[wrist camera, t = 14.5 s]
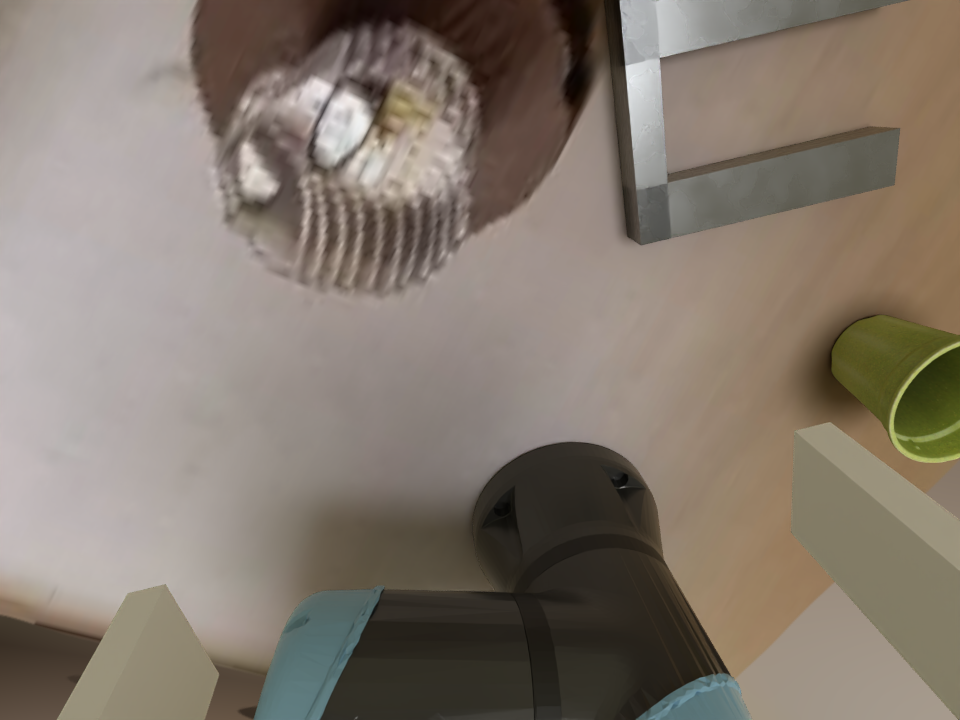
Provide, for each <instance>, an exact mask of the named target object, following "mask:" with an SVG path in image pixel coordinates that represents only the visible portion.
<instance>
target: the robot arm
mask: <svg viewBox="0 0 960 720" xmlns="http://www.w3.org/2000/svg"><path fill="white" fill-rule="evenodd" d="M472 529H473V538H474V544H475V550H476V555H477V559H478V562H479V564H480V566H481V569H482V571H483V573H484V574H485V576H486V577H487V579H488V580H489V582H490V583H491V585H492V586H493V588H494V589H495V591H496V592H475V591H427V590H384V588H385V586H379V585H378V586H376V587H375V588H374V589H361V590H328V591H321V592H318V593H315V594H312V595H310V596H309V597H307V598H306V599H304V600H303V601H302V602H301V603H300V604H299V605H298V606H297V607H296V609H295V610H294V611H293V613H292V614H291V616H290V618H289V619H288V621H287V623H286V625H285V628H284V630H283V632H282V635H281V637H280V640H279V642H278V645H277V647H276V650H275V653H274V656H273V659H272V662H271V664H270V667H269V670H268V673H267V677H266V680H265V683H264V686H263V690H262V693H261V696H260V699H259V702H258V706H257V709H256V713H255V716H254V720H752V718H751V716H750V713H749V711H748V709H747V707H746V705H745V703H744V701H743V699H742V695H741V690H740V687H739V685H738V683H737V682H736V681H735V680H734V677H731V675H730V673H729V671H728V670H727V668H726V666H725V665H724V663H723V661H722V659H721V658H720V656H719V654H718V653H717V651H716V649H715V647H714V646H713V644H712V642H711V641H710V639H709V637H708V635H707V634H706V632H705V630H704V628H703V627H702V625H701V623H700V622H699V620H698V618H697V616H696V615H695V613H694V611H693V610H692V608H691V606H690V604H689V603H688V601H687V599H686V598H685V596H684V594H683V592H682V591H681V589H680V587H679V586H678V584H677V582H676V580H675V579H674V577H673V575H672V573H671V572H670V570H669V568H668V566H667V565H666V563H665V561H664V558H663V550H662V542H661V534H660V526H659V518H658V511H657V507H656V503H655V500H654V498H653V495H652V493H651V491H650V489H649V488H648V486H647V484H646V483H645V481H644V480H643V478H642V476H641V475H640V473H639V472H638V470H637V469H636V468H635V467H634V466H633V465H632V464H631V463H630V462H629V461H628V460H627V459H625V458H624V457H623V456H621V455H619V454H618V453H616V452H614V451H612V450H609V449H607V448H604V447H601V446H597V445H592V444H585V443H563V444H556V445H551V446H546V447H543V448H540V449H537V450H534V451H531V452H529V453H527V454H525V455H523V456H521V457H519V458H517V459H516V460H514V461H512V462H511V463H509V464H508V465H507V466H505V467H504V468H503V469H502V470H501V471H499V472H498V473H497V474H496V475H495V476H494V477H493V479H492V480H491V481H490V482H489V483H488V485H487V486H486V487H485V489H484V490H483V492H482V494H481V496H480V497H479V500H478V502H477V504H476V507H475V511H474V515H473V524H472ZM791 533H792V534H793V535H794V536H795V538H796V539H797V540H798V541H799V542H800V543H801V544H802V545H803V547H804V548H805V549H806V550H807V551H808V552H809V553H810V554H811V556H812V557H813V558H814V559H815V560H816V561H817V562H818V563H819V564H820V566H821V567H822V568H823V569H824V570H825V571H826V572H827V573H828V575H829V576H830V577H831V578H832V579H833V580H834V581H835V582H836V583H837V585H838V586H839V587H840V588H841V589H842V590H843V591H844V592H845V593H846V595H847V596H848V597H849V598H850V599H851V600H852V601H853V602H854V604H855V605H856V606H857V607H858V608H859V609H860V610H861V611H862V613H863V614H864V615H865V616H866V617H867V618H868V619H869V620H870V622H872V624H873V625H874V626H875V627H876V628H877V629H878V630H879V632H880V633H881V634H882V635H883V636H884V637H885V638H886V639H887V641H888V642H889V643H890V644H891V645H892V646H893V647H894V648H895V649H896V651H897V652H898V653H899V654H900V655H901V656H902V657H903V658H904V660H905V661H906V662H907V663H908V664H909V665H910V666H911V667H912V668H913V670H914V671H915V672H916V673H917V674H918V675H919V676H920V677H921V678H922V680H923V681H924V682H925V683H926V684H927V685H928V686H929V687H930V688H931V690H932V691H933V692H934V693H935V694H936V695H937V696H938V698H939V699H940V700H941V701H942V702H943V703H944V704H945V705H946V707H947V708H948V709H949V710H950V711H951V712H952V713H953V714H954V715H955V716H956V718H957V719H958V720H960V520H959V519H957V518H956V517H955V516H954V515H952V514H951V513H950V512H948V511H947V510H946V509H944V508H943V507H942V506H941V505H939V504H938V503H937V502H935V501H934V500H933V499H931V498H930V497H928V496H927V495H926V494H925V493H923V492H922V491H921V490H919V489H918V488H917V487H915V486H914V485H913V484H911V483H910V482H909V481H907V480H906V479H905V478H903V477H902V476H901V475H900V474H898V473H897V472H896V471H894V470H893V469H892V468H890V467H889V466H888V465H886V464H885V463H884V462H882V461H881V460H880V459H878V458H877V457H876V456H874V455H873V454H872V453H870V452H869V451H868V450H866V449H865V448H864V447H862V446H861V445H860V444H859V443H857V442H856V441H855V440H853V439H852V438H851V437H849V436H848V435H847V434H845V433H844V432H843V431H841V430H840V429H839V428H837V427H836V426H835V425H833V424H832V423H831V422H828V423H824V424H820V425H816V426H812V427H808V428H804V429H800V430H796V431H794V457H793V486H792V515H791ZM218 677H219V673H218V671H217V670H216V668H215V666H214V665H213V663H212V661H211V660H210V658H209V656H208V655H207V653H206V651H205V650H204V648H203V646H202V645H201V643H200V641H199V640H198V638H197V636H196V635H195V633H194V631H193V630H192V628H191V626H190V624H189V623H188V621H187V619H186V618H185V616H184V614H183V613H182V611H181V609H180V608H179V606H178V604H177V603H176V601H175V599H174V598H173V596H172V594H171V593H170V591H169V589H168V588H167V586H166V584H165V585H161V586H157V587H153V588H149V589H144V590H140V591H136V592H132V593H128V594H127V596H126V598H125V599H124V601H123V603H122V605H121V607H120V608H119V610H118V612H117V614H116V615H115V617H114V619H113V621H112V623H111V624H110V626H109V628H108V630H107V631H106V633H105V635H104V637H103V639H102V640H101V642H100V644H99V646H98V648H97V649H96V651H95V653H94V655H93V657H92V658H91V660H90V662H89V664H88V665H87V667H86V669H85V671H84V672H83V674H82V676H81V678H80V680H79V681H78V683H77V685H76V687H75V688H74V690H73V692H72V694H71V696H70V697H69V699H68V701H67V703H66V705H65V706H64V708H63V710H62V712H61V713H60V715H59V717H58V719H57V720H205V717H206V714H207V711H208V707H209V705H210V702H211V698H212V695H213V692H214V689H215V686H216V683H217V680H218Z"/></svg>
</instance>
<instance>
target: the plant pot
mask: <svg viewBox="0 0 960 720" xmlns="http://www.w3.org/2000/svg"><path fill="white" fill-rule="evenodd" d="M831 355H832V368H831V371H832V373H833V375H834V377H835V378H836V379H837V380H838V381H839V382H840V383H841V384H842V385H843V386H844V387H845V388H846V389H847V390H848V391H850V392H851V393H852V394H853V395H854V396H855V397H856V398H857V399H858V400H859V401H860V402H861V403H862V404H864V405H865V406H866V407H867V408H868V409H869V410H870V411H871V412H872V413H873V414H874V415H875V416H876V417H877V418H878V419H879V420H880V421H881V422H882V425H883V426H884V428H885V429H886V431H887V432H888V436H889V438H890V440H891V442H892V444H893V445H894V447H895V448H896V449H897V450H898V451H899V452H900V453H902V454H903V455H905V456H906V457H908V458H910V459H913V460H915V461H919V462H926V463H936V462H945V461H949V460H954V459H958V458H960V335H956V334H952V333H948V332H945V331H941V330H937V329H934V328H930V327H926V326H923V325H919V324H915V323H912V322H908V321H905V320H901V319H898V318H894V317H890V316H887V315H877V316H875V317H871V318H867V319H863V320H859V321H857V322H856V323H854V324H852V325H851V326H850V327H849V328H847V329H846V330H845V331H844V332H843V333H842V335H841V336H840V337H839V338H838V340H837V341H836V343H835V345H834V347H833V350H832V353H831Z"/></svg>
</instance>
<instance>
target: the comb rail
mask: <svg viewBox="0 0 960 720" xmlns="http://www.w3.org/2000/svg"><path fill="white" fill-rule="evenodd" d="M904 1H908V0H605V10H606V20H607V31H608V41H609V51H610V61H611V72H612V82H613V92H614V103H615V113H616V123H617V133H618V144H619V154H620V164H621V174H622V185H623V195H624V205H625V215H626V226H627V236H628V237H629V238H630V239H632V240H634V241H635V242H637V243H638V244H640V245H644V244H648V243H653V242H657V241H661V240H665V239H669V238H674V237H678V236H682V235H686V234H691V233H695V232H699V231H703V230H707V229H712V228H716V227H720V226H724V225H728V224H733V223H737V222H741V221H745V220H749V219H754V218H758V217H762V216H766V215H771V214H775V213H779V212H783V211H787V210H792V209H796V208H800V207H804V206H808V205H813V204H817V203H821V202H825V201H830V200H834V199H838V198H842V197H846V196H851V195H855V194H859V193H863V192H867V191H872V190H876V189H880V188H884V187H888V186H893V185H895V175H896V165H897V155H898V145H899V135H900V128H887V127H867V128H863V129H858V130H854V131H850V132H846V133H841V134H837V135H833V136H829V137H824V138H820V139H816V140H812V141H807V142H803V143H799V144H795V145H790V146H786V147H782V148H778V149H773V150H769V151H765V152H760V153H756V154H752V155H748V156H743V157H739V158H735V159H731V160H726V161H722V162H718V163H714V164H709V165H705V166H701V167H697V168H692V169H688V170H684V171H680V172H675V173H671V174H667V165H666V150H665V134H664V119H663V103H662V88H661V72H660V58H661V57H665V56H669V55H674V54H678V53H682V52H687V51H691V50H695V49H700V48H704V47H708V46H713V45H717V44H722V43H726V42H730V41H735V40H739V39H743V38H748V37H752V36H756V35H761V34H765V33H769V32H774V31H778V30H782V29H787V28H791V27H795V26H800V25H804V24H808V23H813V22H817V21H821V20H826V19H830V18H834V17H839V16H843V15H847V14H852V13H856V12H860V11H865V10H869V9H873V8H878V7H882V6H886V5H891V4H895V3H899V2H904Z"/></svg>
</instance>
